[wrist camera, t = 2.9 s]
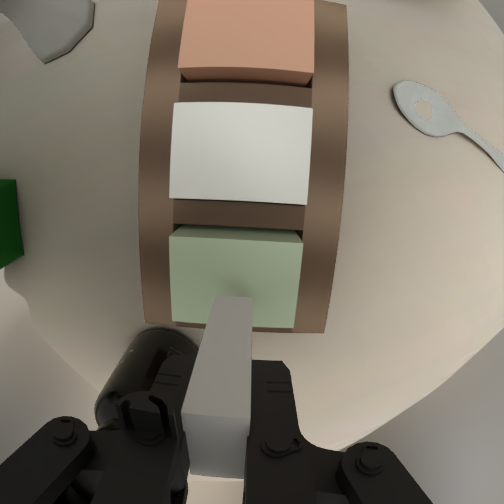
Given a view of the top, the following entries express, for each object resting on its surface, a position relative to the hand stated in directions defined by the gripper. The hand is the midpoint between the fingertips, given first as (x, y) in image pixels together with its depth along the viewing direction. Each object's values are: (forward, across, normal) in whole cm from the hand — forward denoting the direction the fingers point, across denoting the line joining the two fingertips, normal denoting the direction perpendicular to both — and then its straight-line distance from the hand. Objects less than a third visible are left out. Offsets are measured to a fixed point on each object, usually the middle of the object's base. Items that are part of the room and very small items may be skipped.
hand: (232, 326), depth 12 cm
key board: (+10, 0, +7) cm, 12 cm away
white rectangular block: (+8, 0, +7) cm, 11 cm away
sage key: (+8, 0, 0) cm, 8 cm away
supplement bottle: (+10, -6, -10) cm, 15 cm away
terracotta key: (+8, 0, +14) cm, 16 cm away
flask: (+10, -17, +20) cm, 28 cm away
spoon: (+11, +20, +11) cm, 26 cm away
